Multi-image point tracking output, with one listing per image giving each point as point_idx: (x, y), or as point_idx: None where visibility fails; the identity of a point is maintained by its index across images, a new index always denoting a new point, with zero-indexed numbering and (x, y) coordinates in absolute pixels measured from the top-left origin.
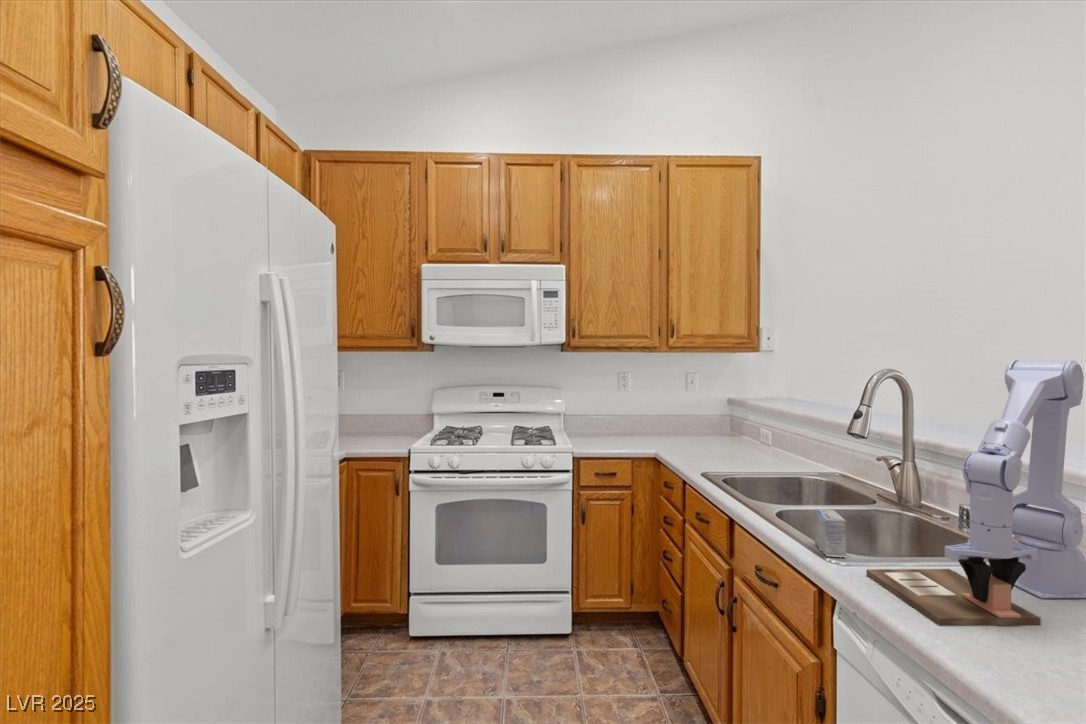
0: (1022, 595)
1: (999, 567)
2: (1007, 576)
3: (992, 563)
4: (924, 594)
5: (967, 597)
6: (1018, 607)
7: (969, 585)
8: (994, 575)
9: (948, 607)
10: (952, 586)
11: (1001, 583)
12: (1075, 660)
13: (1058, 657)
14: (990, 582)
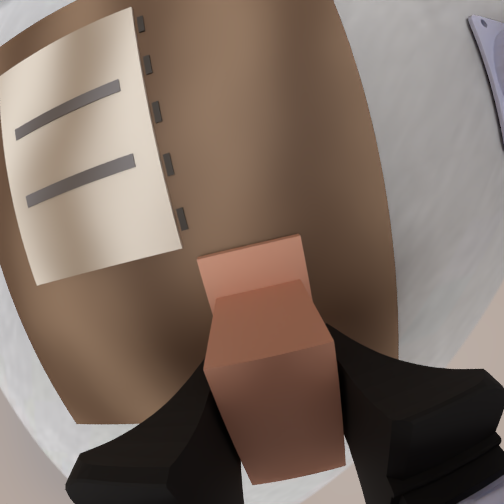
0: (474, 123)
1: (371, 464)
2: (359, 472)
3: (373, 432)
4: (55, 273)
5: (208, 294)
6: (387, 306)
7: (313, 95)
8: (347, 389)
9: (112, 362)
10: (217, 125)
11: (309, 463)
12: (324, 483)
13: (298, 484)
14: (256, 467)
